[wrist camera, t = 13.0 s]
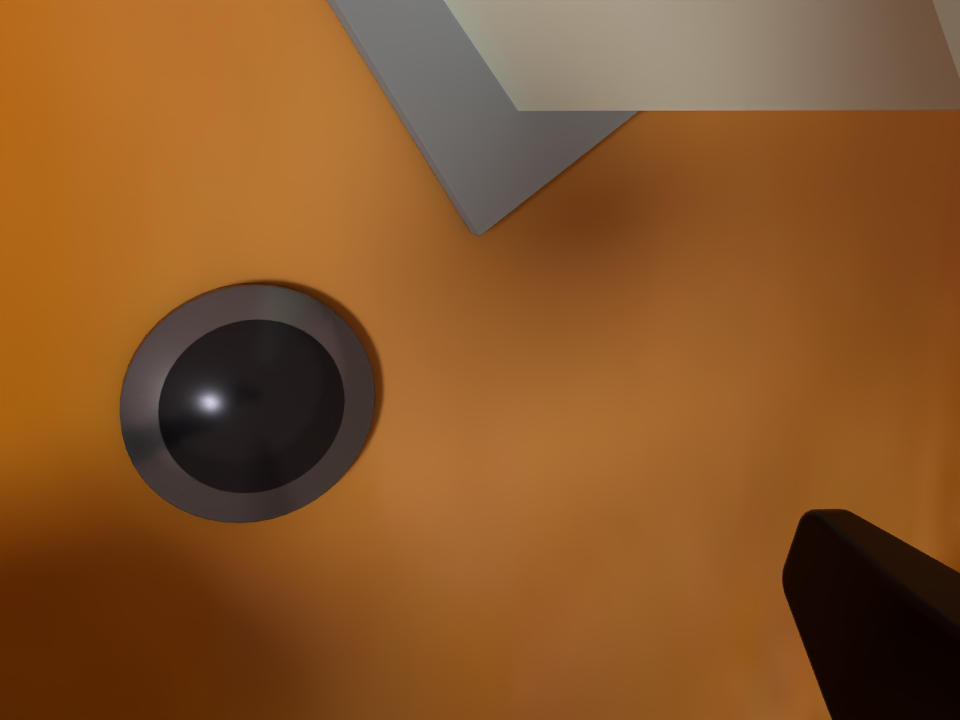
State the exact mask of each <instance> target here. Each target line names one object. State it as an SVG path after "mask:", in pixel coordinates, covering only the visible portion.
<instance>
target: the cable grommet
mask: <svg viewBox="0 0 960 720" xmlns="http://www.w3.org/2000/svg"><path fill="white" fill-rule="evenodd" d="M374 403H375V388H374V380H373V373H372V369H371V366H370V363H369V359H368V356H367V354H366V352H365V350H364V348H363V346H362V344H361V342H360V341H359V339H358V338H357V336H356V334H355V333H354V331H353V330H352V329H351V328H350V327H349V326H348V324H347V323H346V322H345V321H344V320H343V319H342V318H341V317H340V316H338V315H337V314H336V313H335V312H334V311H333V310H331V309H330V308H329V307H327V306H326V305H324V304H323V303H321V302H320V301H318V300H317V299H315V298H313V297H311V296H309V295H307V294H304V293H302V292H299V291H296V290H293V289H290V288H287V287H282V286H277V285H272V284H257V283H251V284H236V285H231V286H226V287H221V288H217V289H214V290H211V291H208V292H205V293H202V294H200V295H198V296H196V297H194V298H192V299H190V300H188V301H186V302H184V303H183V304H181V305H180V306H178V307H177V308H175V309H173V310H172V311H171V312H169V313H168V314H167V315H166V316H165V317H164V318H162V319H161V320H160V321H159V322H158V323H157V324H156V325H155V326H154V327H153V328H152V329H151V330H150V332H149V333H148V334H147V335H146V336H145V338H144V339H143V341H142V342H141V343H140V345H139V346H138V348H137V349H136V351H135V353H134V355H133V357H132V359H131V361H130V363H129V365H128V368H127V371H126V374H125V377H124V380H123V385H122V390H121V396H120V420H121V429H122V435H123V439H124V442H125V446H126V450H127V452H128V454H129V456H130V458H131V461H132V463H133V465H134V466H135V468H136V469H137V471H138V472H139V474H140V476H141V477H142V478H143V479H144V481H145V482H146V483H147V484H148V485H149V486H150V487H151V489H152V490H154V491H155V492H156V493H157V494H158V495H159V496H161V497H162V498H163V499H164V500H166V501H167V502H169V503H170V504H172V505H174V506H175V507H177V508H179V509H181V510H183V511H185V512H187V513H190V514H192V515H195V516H198V517H201V518H205V519H208V520H214V521H220V522H230V523H246V522H257V521H263V520H268V519H273V518H276V517H279V516H283V515H286V514H288V513H291V512H293V511H295V510H298V509H300V508H302V507H304V506H305V505H307V504H309V503H311V502H312V501H314V500H316V499H317V498H319V497H320V496H321V495H323V494H324V493H325V492H327V491H328V490H329V489H330V488H331V487H332V486H333V485H335V484H336V483H337V482H338V481H339V480H340V479H341V478H342V476H343V475H344V474H345V473H346V472H347V471H348V469H349V468H350V467H351V465H352V464H353V462H354V461H355V459H356V458H357V456H358V455H359V453H360V451H361V449H362V447H363V445H364V443H365V441H366V438H367V435H368V433H369V430H370V426H371V422H372V418H373V413H374Z"/></svg>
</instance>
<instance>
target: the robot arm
mask: <svg viewBox="0 0 960 720" xmlns="http://www.w3.org/2000/svg"><path fill="white" fill-rule="evenodd" d="M782 583H783V589H784V593H785V596H786V599H787V601H788V604H789V607H790V610H791V612H792V615H793V618H794V620H795V623H796V626H797V628H798V631H799V634H800V636H801V639H802V642H803V644H804V647H805V650H806V652H807V655H808V658H809V661H810V663H811V666H812V669H813V671H814V674H815V677H816V679H817V682H818V685H819V687H820V690H821V693H822V695H823V698H824V701H825V703H826V706H827V709H828V711H829V713H830V716H831V718H832V720H960V573H959V572H957V571H955V570H953V569H952V568H950V567H948V566H946V565H945V564H943V563H941V562H939V561H937V560H936V559H934V558H932V557H930V556H929V555H927V554H925V553H923V552H921V551H920V550H918V549H916V548H914V547H912V546H911V545H909V544H907V543H905V542H904V541H902V540H900V539H898V538H896V537H895V536H893V535H891V534H889V533H888V532H886V531H884V530H882V529H880V528H879V527H877V526H875V525H873V524H872V523H870V522H868V521H866V520H864V519H863V518H861V517H859V516H857V515H855V514H854V513H852V512H850V511H848V510H844V509H813V510H810V511H807V512H806V513H805V514H804V515H803V516H802V517H801V519H800V521H799V524H798V526H797V529H796V532H795V535H794V538H793V541H792V544H791V547H790V550H789V553H788V556H787V559H786V562H785V564H784V568H783V575H782Z"/></svg>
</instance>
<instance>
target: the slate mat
mask: <svg viewBox="0 0 960 720" xmlns="http://www.w3.org/2000/svg"><path fill="white" fill-rule="evenodd" d="M327 1H328V3H329V4H330V6H331V8H332V9H333V11H334V12H335V14H336V16H337V17H338V19H339V20H340V22H341V24H342V25H343V27H344V29H345V30H346V32H347V33H348V35H349V37H350V38H351V40H352V41H353V43H354V45H355V46H356V48H357V50H358V51H359V53H360V54H361V56H362V58H363V59H364V61H365V62H366V64H367V66H368V67H369V69H370V71H371V72H372V74H373V75H374V77H375V79H376V80H377V82H378V83H379V85H380V87H381V88H382V90H383V92H384V93H385V95H386V96H387V98H388V100H389V101H390V103H391V104H392V106H393V108H394V109H395V111H396V113H397V114H398V116H399V117H400V119H401V121H402V122H403V124H404V125H405V127H406V129H407V130H408V132H409V134H410V135H411V137H412V138H413V140H414V142H415V143H416V145H417V146H418V148H419V150H420V151H421V153H422V154H423V156H424V158H425V159H426V161H427V163H428V164H429V166H430V167H431V169H432V171H433V172H434V174H435V175H436V177H437V179H438V180H439V182H440V184H441V185H442V187H443V188H444V190H445V192H446V193H447V195H448V196H449V198H450V200H451V201H452V203H453V205H454V206H455V208H456V209H457V211H458V213H459V214H460V216H461V217H462V219H463V221H464V222H465V224H466V226H467V227H468V229H469V230H470V232H471V234H474V235H477V236H481V235H482V234H483V233H484V232H486V231H487V230H488V229H490V228H491V227H492V226H493V225H495V224H496V223H497V222H498V221H500V220H501V219H502V218H504V217H505V216H506V215H507V214H509V213H510V212H511V211H512V210H514V209H515V208H516V207H518V206H519V205H520V204H521V203H523V202H524V201H525V200H526V199H528V198H529V197H530V196H532V195H533V194H534V193H535V192H537V191H538V190H539V189H540V188H542V187H543V186H544V185H546V184H547V183H548V182H549V181H551V180H552V179H553V178H554V177H556V176H557V175H558V174H560V173H561V172H562V171H563V170H565V169H566V168H567V167H568V166H570V165H571V164H572V163H574V162H575V161H576V160H577V159H579V158H580V157H581V156H582V155H584V154H585V153H586V152H588V151H589V150H590V149H591V148H593V147H594V146H595V145H596V144H598V143H599V142H600V141H602V140H603V139H604V138H605V137H607V136H608V135H609V134H610V133H612V132H613V131H614V130H616V129H617V128H618V127H619V126H621V125H622V124H623V123H624V122H626V121H627V120H628V119H630V118H631V117H632V116H633V115H635V114H636V113H637V112H638V111H518V110H517V108H516V107H515V105H514V104H513V102H512V101H511V99H510V98H509V97H508V95H507V94H506V92H505V91H504V89H503V88H502V86H501V85H500V83H499V82H498V80H497V79H496V77H495V76H494V74H493V73H492V71H491V70H490V68H489V67H488V65H487V64H486V62H485V61H484V59H483V58H482V56H481V55H480V54H479V52H478V51H477V49H476V48H475V46H474V45H473V43H472V42H471V40H470V39H469V37H468V36H467V34H466V33H465V31H464V30H463V28H462V27H461V25H460V24H459V22H458V21H457V19H456V18H455V16H454V15H453V13H452V12H451V11H450V9H449V8H448V6H447V5H446V3H445V2H444V0H327Z"/></svg>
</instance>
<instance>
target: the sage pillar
mask: <svg viewBox="0 0 960 720" xmlns="http://www.w3.org/2000/svg"><path fill="white" fill-rule="evenodd" d="M444 2H445V3H446V5H447V6H448V8H449V9H450V11H451V12H452V13H453V15H454V16H455V18H456V19H457V21H458V22H459V24H460V25H461V27H462V28H463V30H464V31H465V33H466V34H467V36H468V37H469V39H470V40H471V42H472V43H473V45H474V46H475V48H476V49H477V51H478V52H479V54H480V55H481V56H482V58H483V59H484V61H485V62H486V64H487V65H488V67H489V68H490V70H491V71H492V73H493V74H494V76H495V77H496V79H497V80H498V82H499V83H500V85H501V86H502V88H503V89H504V91H505V92H506V94H507V95H508V97H509V98H510V99H511V101H512V102H513V104H514V105H515V107H516V108H517V110H518V111H700V110H960V0H444Z"/></svg>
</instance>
